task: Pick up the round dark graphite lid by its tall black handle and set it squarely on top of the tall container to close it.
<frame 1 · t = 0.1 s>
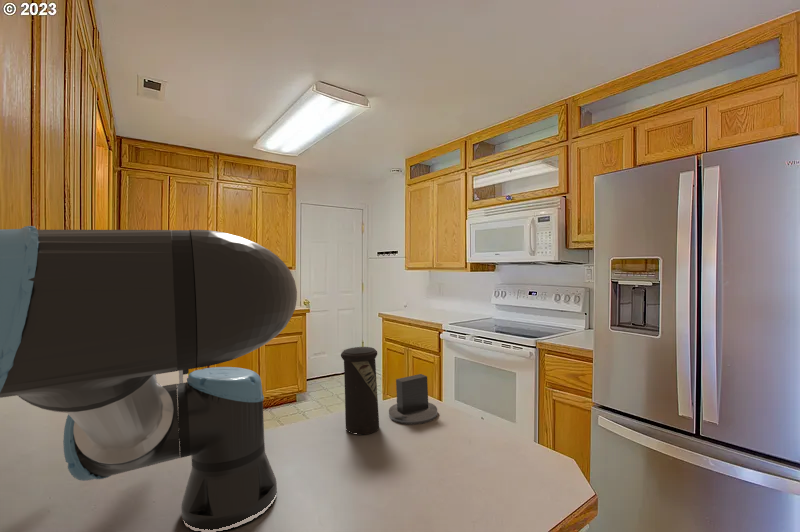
hand: (145, 388, 86), 15 cm above the table, tool tilted 35°, fingers open, 13 cm apart
lid: (413, 414, 104), on the table
container: (362, 429, 97), on the table
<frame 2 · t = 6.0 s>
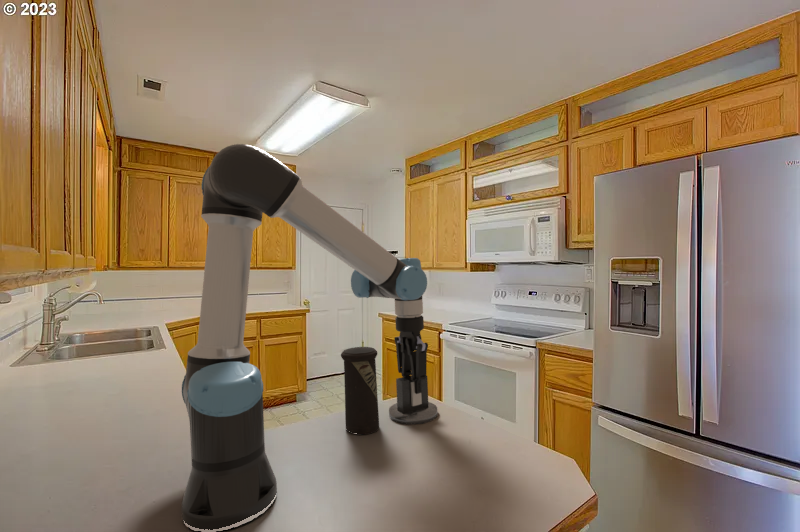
hand: (412, 402, 104), 3 cm above the table, tool pointing down, fingers closed on lid, 3 cm apart
lid: (413, 414, 104), on the table, touching gripper
everything else where it was.
when the fingers open (25 cm above the table, at t = 12.0 s): lid drops 1 cm, resting on container.
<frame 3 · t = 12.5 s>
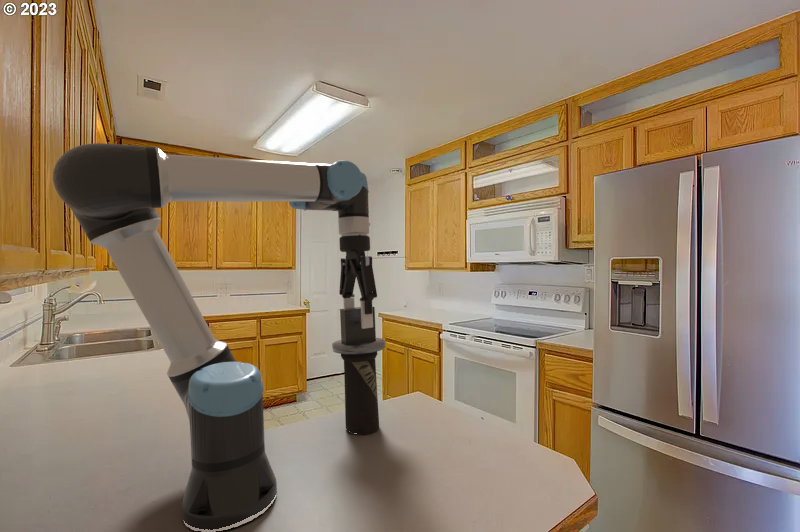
hand: (358, 325, 97), 26 cm above the table, tool pointing down, fingers open, 10 cm apart
lid: (359, 348, 97), point 20 cm above the table, touching container
container: (362, 429, 97), on the table, touching lid
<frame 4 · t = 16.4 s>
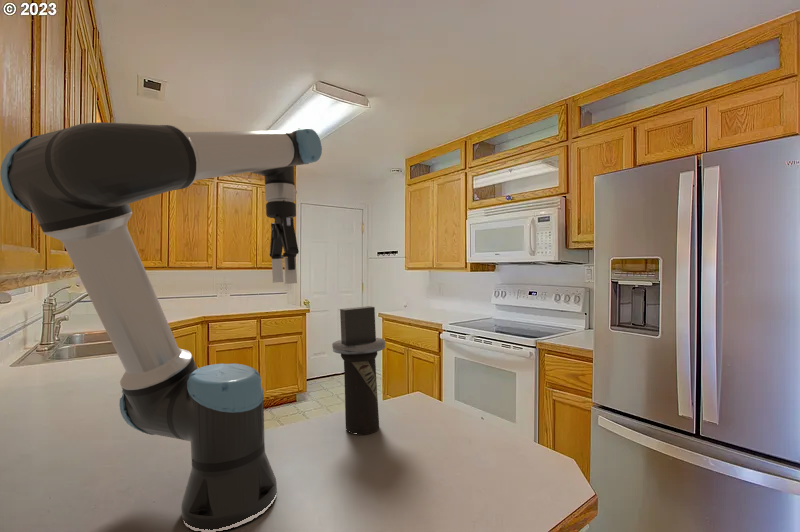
hand: (284, 283, 102), 37 cm above the table, tool pointing down, fingers open, 13 cm apart
nothing on the table moved.
at the end: lid 0.0 cm off-centre on the container, point 20.2 cm above the container's base; lid tilted 0°; container tilted 0° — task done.
